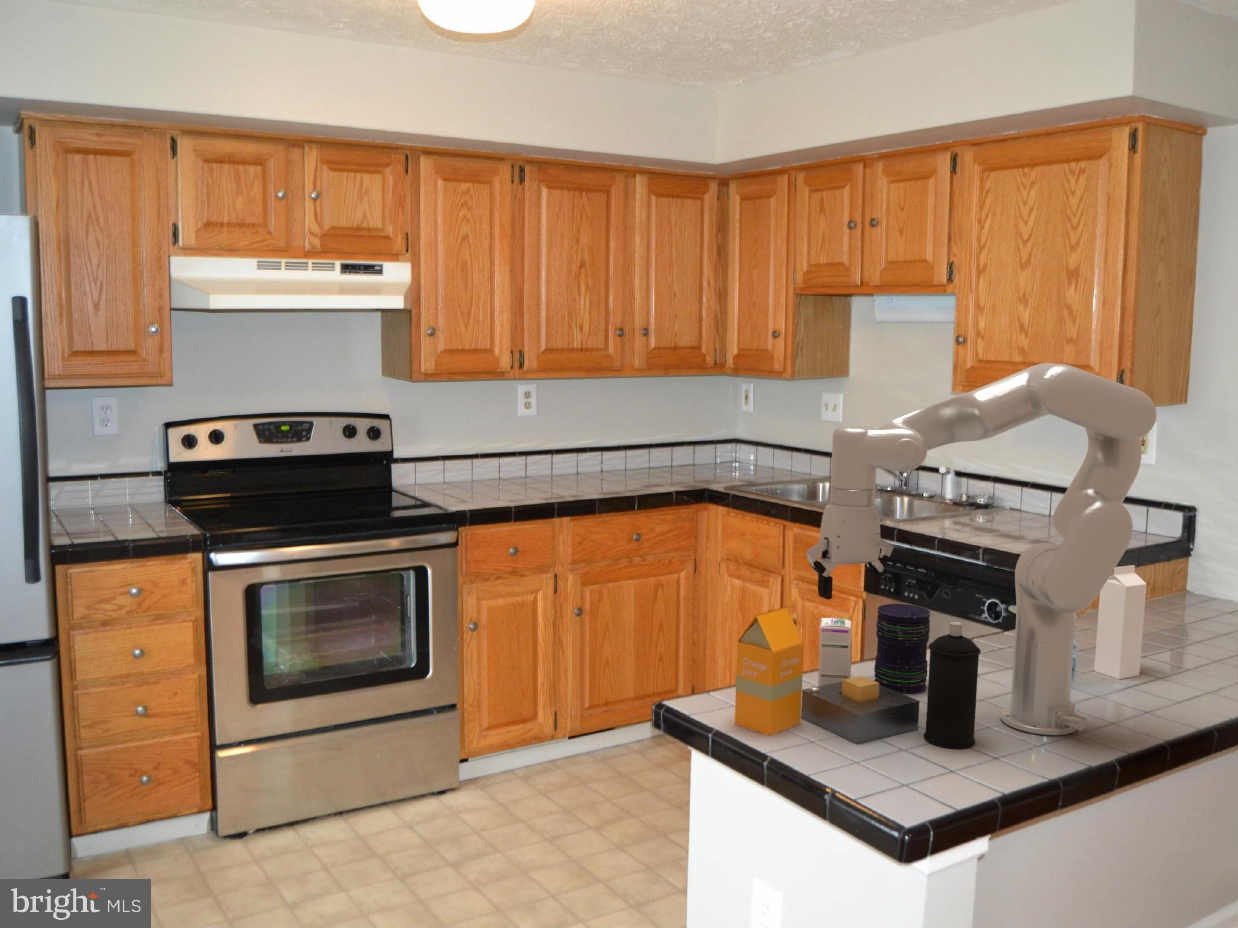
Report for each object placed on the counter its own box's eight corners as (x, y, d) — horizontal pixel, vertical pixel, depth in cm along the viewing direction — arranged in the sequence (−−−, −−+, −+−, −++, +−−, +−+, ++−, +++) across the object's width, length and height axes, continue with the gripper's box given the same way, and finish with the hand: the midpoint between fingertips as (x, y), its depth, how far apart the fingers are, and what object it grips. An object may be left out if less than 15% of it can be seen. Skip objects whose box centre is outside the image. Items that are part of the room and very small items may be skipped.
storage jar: (863, 680, 211) (867, 605, 209) (907, 676, 214) (911, 602, 212) (891, 697, 201) (895, 618, 199) (937, 692, 204) (941, 615, 202)
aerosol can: (968, 753, 175) (975, 632, 172) (917, 742, 179) (923, 624, 177) (980, 737, 182) (987, 621, 179) (931, 727, 186) (938, 614, 184)
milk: (1093, 671, 219) (1100, 564, 216) (1114, 667, 222) (1121, 561, 219) (1119, 680, 214) (1126, 570, 211) (1140, 675, 216) (1148, 567, 214)
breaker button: (878, 699, 186) (879, 683, 186) (859, 703, 184) (860, 687, 183) (860, 691, 190) (861, 675, 189) (841, 695, 187) (842, 679, 187)
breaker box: (918, 729, 185) (919, 697, 184) (857, 744, 178) (858, 711, 177) (860, 704, 197) (861, 674, 196) (801, 717, 190) (802, 686, 189)
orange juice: (801, 723, 187) (805, 610, 184) (770, 736, 181) (774, 619, 178) (764, 711, 192) (768, 601, 190) (733, 723, 186) (737, 610, 184)
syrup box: (849, 704, 197) (853, 626, 195) (816, 701, 198) (819, 624, 196) (849, 694, 202) (852, 618, 200) (817, 691, 203) (820, 616, 202)
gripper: (880, 492, 192) (876, 586, 194) (797, 497, 185) (794, 594, 188) (907, 498, 185) (902, 596, 188) (822, 503, 179) (818, 604, 181)
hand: (848, 595), depth 188 cm, fingers open, 9 cm apart
